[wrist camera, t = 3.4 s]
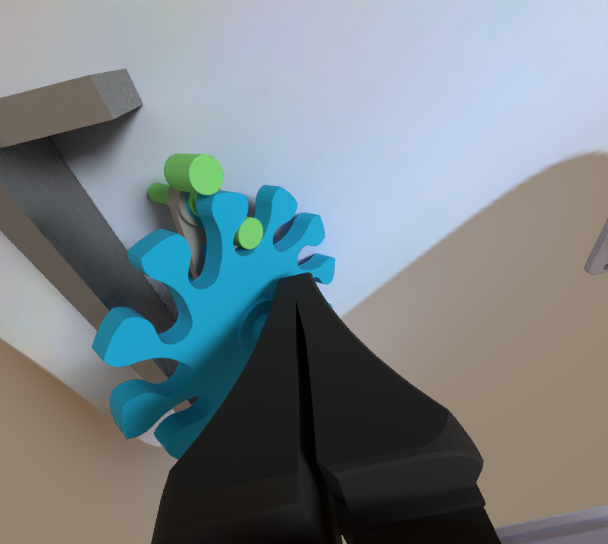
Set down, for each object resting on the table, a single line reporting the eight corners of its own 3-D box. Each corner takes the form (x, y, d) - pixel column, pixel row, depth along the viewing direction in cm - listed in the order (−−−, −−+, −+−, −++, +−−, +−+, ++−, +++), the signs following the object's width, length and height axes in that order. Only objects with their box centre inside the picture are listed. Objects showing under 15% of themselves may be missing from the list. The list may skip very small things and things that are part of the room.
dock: (125, 68, 9) (79, 76, 7) (264, 360, 19) (265, 405, 16) (-11, 104, 9) (-103, 124, 7) (196, 375, 19) (186, 423, 17)
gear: (349, 348, 16) (189, 529, 10) (272, 312, 20) (118, 430, 13) (339, 125, 11) (-28, 213, 4) (236, 131, 14) (-53, 184, 8)
